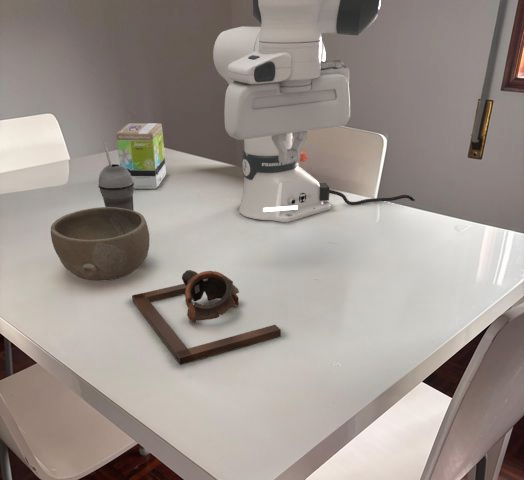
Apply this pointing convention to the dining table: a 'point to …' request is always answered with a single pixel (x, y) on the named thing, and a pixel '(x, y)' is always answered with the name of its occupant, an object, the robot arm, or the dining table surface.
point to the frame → (173, 340)
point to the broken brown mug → (208, 294)
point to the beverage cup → (116, 185)
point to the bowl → (101, 242)
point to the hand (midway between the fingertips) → (289, 162)
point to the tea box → (142, 153)
